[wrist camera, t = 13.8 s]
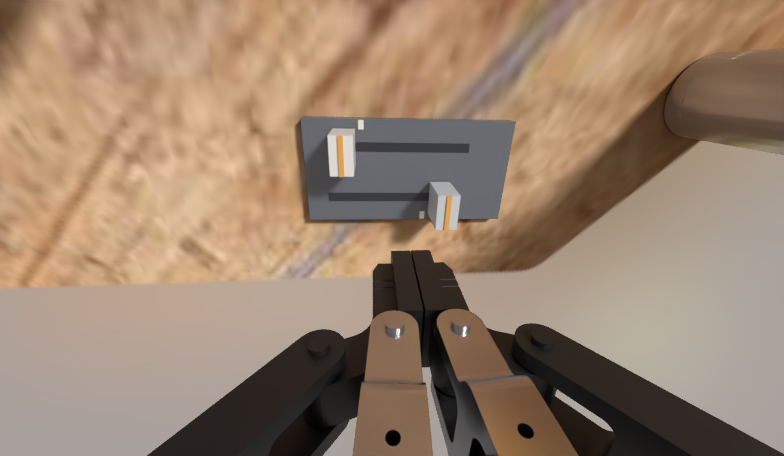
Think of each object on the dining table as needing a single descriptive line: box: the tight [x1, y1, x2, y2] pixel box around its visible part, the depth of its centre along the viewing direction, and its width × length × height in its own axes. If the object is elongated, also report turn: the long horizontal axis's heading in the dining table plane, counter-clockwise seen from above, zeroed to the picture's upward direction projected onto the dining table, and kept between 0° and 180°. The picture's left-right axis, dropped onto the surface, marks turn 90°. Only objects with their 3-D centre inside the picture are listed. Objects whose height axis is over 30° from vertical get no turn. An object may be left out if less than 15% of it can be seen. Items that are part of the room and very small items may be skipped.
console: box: [300, 116, 515, 220], centre depth 38 cm, size 24×12×2 cm, turn 89°
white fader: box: [327, 128, 356, 177], centre depth 33 cm, size 2×4×5 cm, turn 178°
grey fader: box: [428, 182, 461, 231], centre depth 36 cm, size 2×4×5 cm, turn 179°
